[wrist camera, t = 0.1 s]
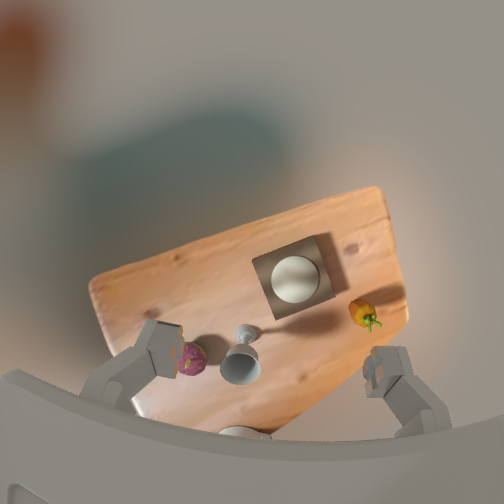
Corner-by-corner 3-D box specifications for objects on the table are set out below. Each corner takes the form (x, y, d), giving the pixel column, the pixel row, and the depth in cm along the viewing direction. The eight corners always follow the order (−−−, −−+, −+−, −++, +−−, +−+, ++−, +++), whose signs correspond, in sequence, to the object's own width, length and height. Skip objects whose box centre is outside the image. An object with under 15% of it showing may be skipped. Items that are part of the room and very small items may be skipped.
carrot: (365, 303, 66) (389, 323, 51) (350, 317, 66) (370, 340, 51) (353, 288, 66) (376, 305, 51) (337, 303, 66) (356, 323, 51)
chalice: (260, 319, 67) (258, 350, 49) (263, 345, 68) (262, 383, 50) (228, 322, 68) (217, 353, 50) (232, 348, 68) (222, 386, 50)
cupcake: (188, 329, 68) (174, 348, 56) (217, 350, 68) (208, 372, 56) (170, 352, 69) (154, 374, 57) (197, 372, 69) (186, 397, 57)
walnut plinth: (331, 292, 66) (336, 297, 62) (275, 315, 67) (275, 321, 63) (311, 235, 65) (314, 236, 61) (252, 258, 66) (251, 261, 62)
